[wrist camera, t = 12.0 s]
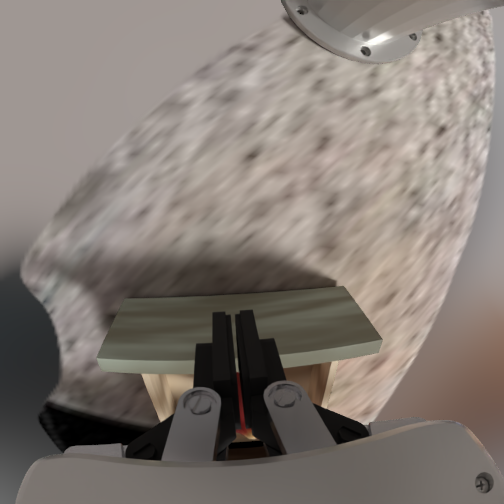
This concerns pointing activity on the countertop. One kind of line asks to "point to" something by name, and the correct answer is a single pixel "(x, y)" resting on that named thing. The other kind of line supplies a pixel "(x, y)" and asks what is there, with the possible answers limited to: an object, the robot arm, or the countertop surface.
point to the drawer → (268, 326)
